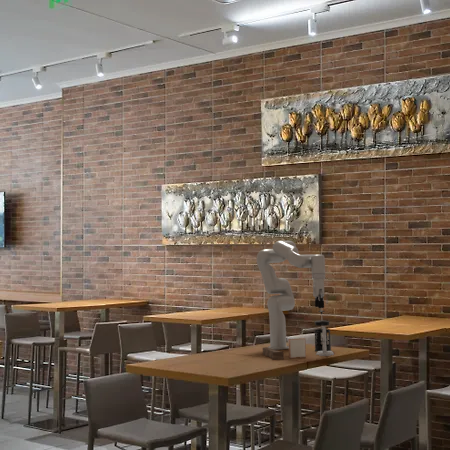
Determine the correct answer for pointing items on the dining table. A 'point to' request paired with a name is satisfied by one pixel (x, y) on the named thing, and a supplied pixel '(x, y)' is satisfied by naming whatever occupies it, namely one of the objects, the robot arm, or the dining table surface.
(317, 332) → the french press
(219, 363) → the dining table surface
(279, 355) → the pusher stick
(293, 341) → the tile
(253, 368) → the dining table surface
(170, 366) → the dining table surface
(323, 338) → the black and grey stand
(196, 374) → the dining table surface
